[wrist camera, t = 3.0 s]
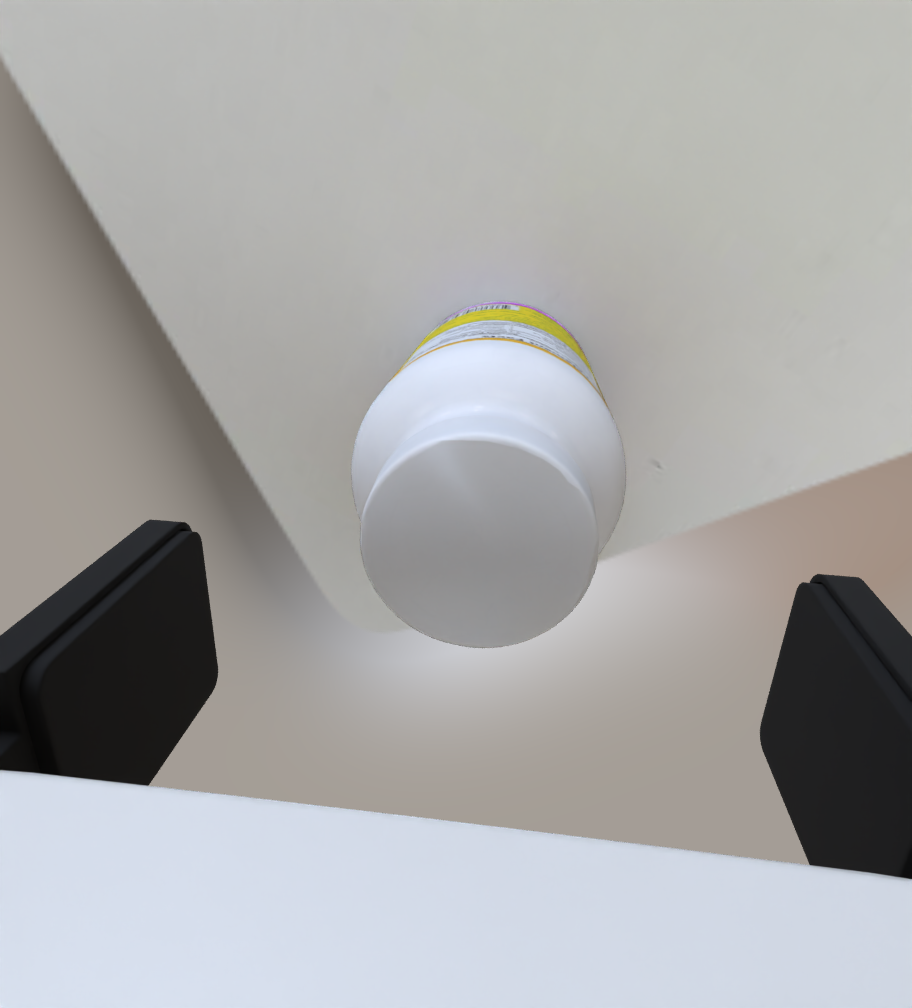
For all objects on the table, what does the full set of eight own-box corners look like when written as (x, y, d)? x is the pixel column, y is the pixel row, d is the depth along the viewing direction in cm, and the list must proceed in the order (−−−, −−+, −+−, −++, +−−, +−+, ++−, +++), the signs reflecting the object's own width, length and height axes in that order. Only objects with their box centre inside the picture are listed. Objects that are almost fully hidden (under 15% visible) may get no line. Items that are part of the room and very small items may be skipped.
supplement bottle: (525, 507, 27) (522, 742, 15) (378, 418, 26) (252, 591, 14) (631, 363, 24) (728, 507, 12) (472, 258, 23) (413, 306, 11)
